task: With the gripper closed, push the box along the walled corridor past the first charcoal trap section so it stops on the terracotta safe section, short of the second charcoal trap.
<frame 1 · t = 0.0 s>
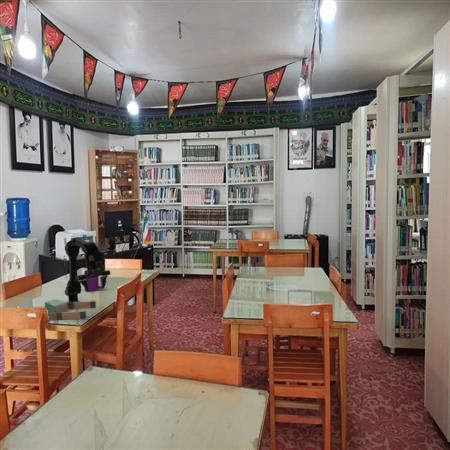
hand: (95, 290, 203), 15 cm above the table, tool pointing down, fingers open, 9 cm apart
mug: (96, 290, 260), on the table
box: (56, 314, 210), on the table
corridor: (70, 313, 210), on the table
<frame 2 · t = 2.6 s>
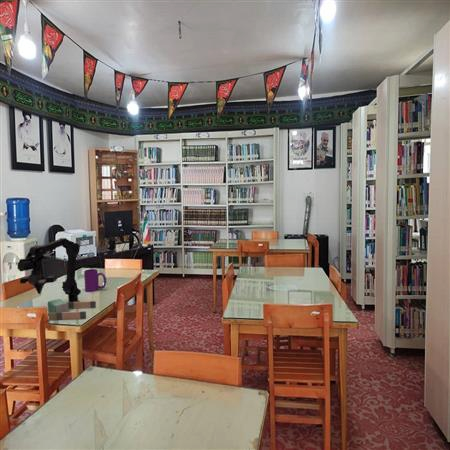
hand: (39, 293, 208), 13 cm above the table, tool pointing down, fingers closed
box: (58, 314, 210), on the table
everything else where it was.
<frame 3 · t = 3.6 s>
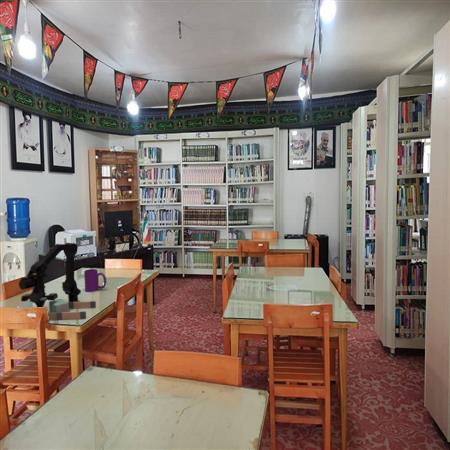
hand: (40, 311, 209), 2 cm above the table, tool pointing down, fingers closed
nothing on the table moved.
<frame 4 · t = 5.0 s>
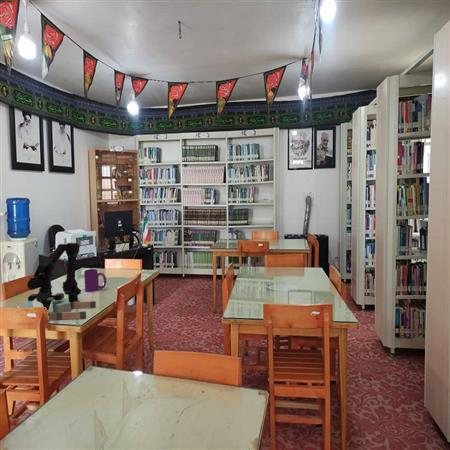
hand: (47, 311, 209), 2 cm above the table, tool pointing down, fingers closed
box: (62, 313, 211), on the table, touching gripper
everything else where it was.
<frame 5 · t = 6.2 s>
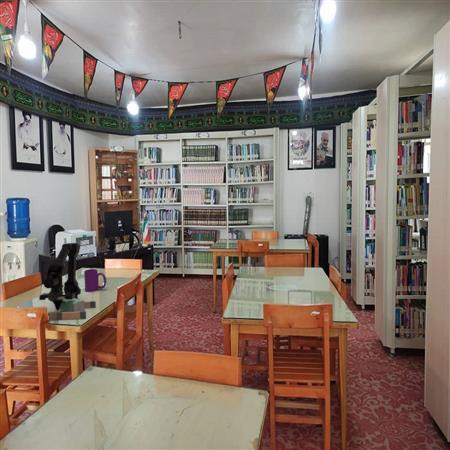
hand: (57, 310, 208), 2 cm above the table, tool pointing down, fingers closed
box: (72, 312, 212), on the table, touching gripper
everything else where it was.
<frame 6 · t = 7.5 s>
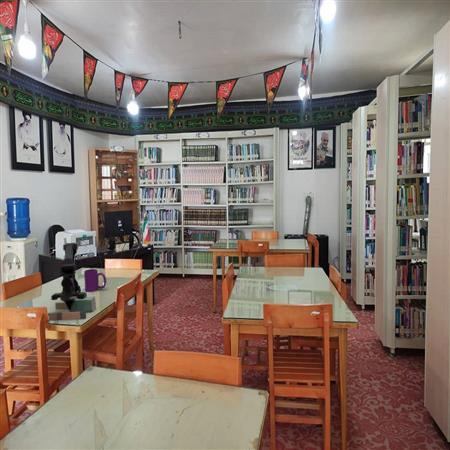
hand: (69, 310, 209), 2 cm above the table, tool pointing down, fingers closed, pressing on box
box: (82, 310, 216), on the table, touching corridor, gripper
everything else where it was.
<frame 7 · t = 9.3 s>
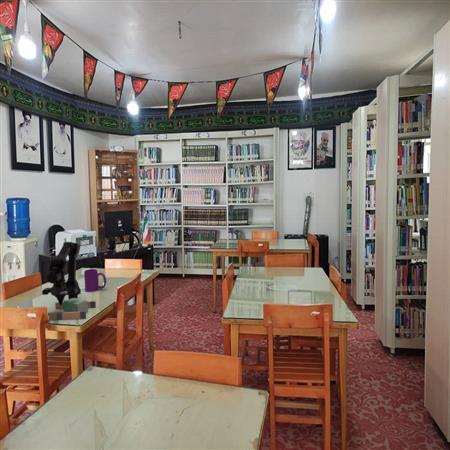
hand: (61, 304, 209), 6 cm above the table, tool pointing down, fingers closed
box: (76, 312, 212), on the table
everything else where it was.
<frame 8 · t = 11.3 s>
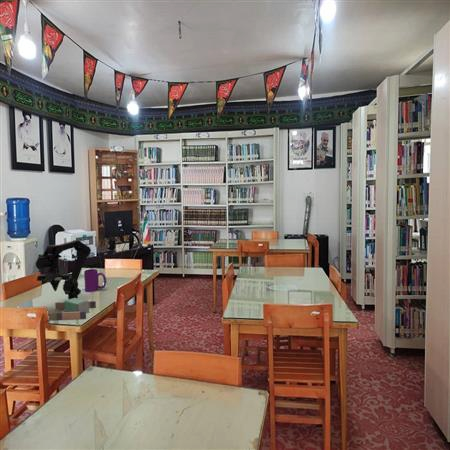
hand: (55, 290, 216), 12 cm above the table, tool pointing down, fingers closed
nothing on the table moved.
at the end: box inside the target area (2.9 cm from its centre), on the table; box tilted 0°; box moved 11.2 cm from its start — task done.
